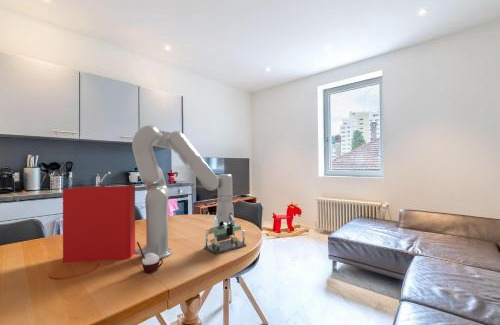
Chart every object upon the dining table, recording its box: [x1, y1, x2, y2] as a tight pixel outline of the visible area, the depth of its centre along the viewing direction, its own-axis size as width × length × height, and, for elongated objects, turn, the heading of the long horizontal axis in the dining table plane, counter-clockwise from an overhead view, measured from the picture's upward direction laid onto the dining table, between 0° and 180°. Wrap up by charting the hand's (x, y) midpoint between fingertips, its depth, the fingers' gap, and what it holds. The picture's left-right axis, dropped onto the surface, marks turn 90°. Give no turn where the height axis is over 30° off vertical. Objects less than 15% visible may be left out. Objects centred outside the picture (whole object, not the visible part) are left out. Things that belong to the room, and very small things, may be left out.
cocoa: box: [136, 241, 164, 274], centre depth 92 cm, size 10×6×12 cm, turn 101°
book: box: [62, 185, 136, 263], centre depth 105 cm, size 27×8×32 cm, turn 97°
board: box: [209, 223, 242, 235], centre depth 117 cm, size 14×7×3 cm, turn 128°
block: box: [214, 233, 231, 242], centre depth 131 cm, size 8×4×4 cm, turn 128°
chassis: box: [203, 229, 247, 255], centre depth 117 cm, size 18×11×8 cm, turn 128°
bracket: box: [213, 216, 236, 227], centre depth 149 cm, size 13×7×8 cm, turn 102°
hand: (225, 233), depth 117 cm, fingers closed on board, 7 cm apart
